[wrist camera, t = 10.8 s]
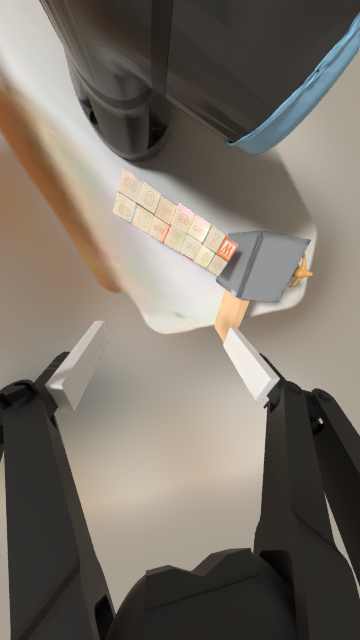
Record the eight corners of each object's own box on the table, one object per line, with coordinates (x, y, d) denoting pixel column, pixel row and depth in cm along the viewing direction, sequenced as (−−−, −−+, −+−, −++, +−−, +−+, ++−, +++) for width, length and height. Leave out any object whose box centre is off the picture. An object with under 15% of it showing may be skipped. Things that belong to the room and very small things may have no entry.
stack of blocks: (124, 219, 30) (104, 209, 20) (133, 185, 28) (117, 153, 17) (202, 266, 37) (219, 277, 27) (216, 243, 35) (239, 245, 24)
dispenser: (228, 233, 34) (262, 230, 23) (263, 239, 36) (311, 240, 24) (215, 282, 40) (236, 299, 29) (245, 285, 42) (277, 303, 31)
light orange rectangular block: (226, 288, 41) (241, 299, 33) (233, 288, 41) (250, 300, 34) (214, 326, 48) (224, 343, 40) (220, 326, 48) (231, 343, 41)
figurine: (279, 278, 42) (318, 291, 32) (261, 280, 41) (294, 293, 31) (290, 248, 38) (338, 252, 27) (269, 249, 37) (311, 254, 27)
